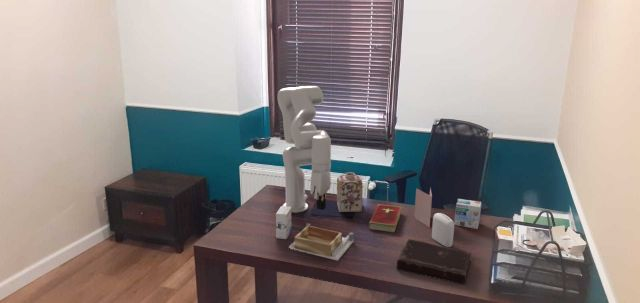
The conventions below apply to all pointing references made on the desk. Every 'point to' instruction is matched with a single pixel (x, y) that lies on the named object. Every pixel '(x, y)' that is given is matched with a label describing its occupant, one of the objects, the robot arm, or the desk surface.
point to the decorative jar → (349, 193)
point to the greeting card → (423, 207)
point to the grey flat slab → (338, 251)
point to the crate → (318, 240)
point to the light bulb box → (467, 213)
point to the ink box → (283, 222)
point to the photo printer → (443, 229)
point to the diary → (434, 261)
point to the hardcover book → (385, 218)
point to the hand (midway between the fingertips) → (321, 208)
